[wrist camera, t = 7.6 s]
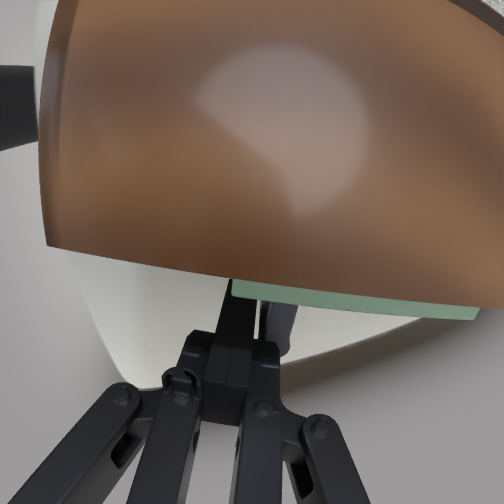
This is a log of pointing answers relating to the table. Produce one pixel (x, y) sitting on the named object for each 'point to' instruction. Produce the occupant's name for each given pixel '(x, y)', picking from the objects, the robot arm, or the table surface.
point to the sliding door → (329, 307)
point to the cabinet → (282, 142)
